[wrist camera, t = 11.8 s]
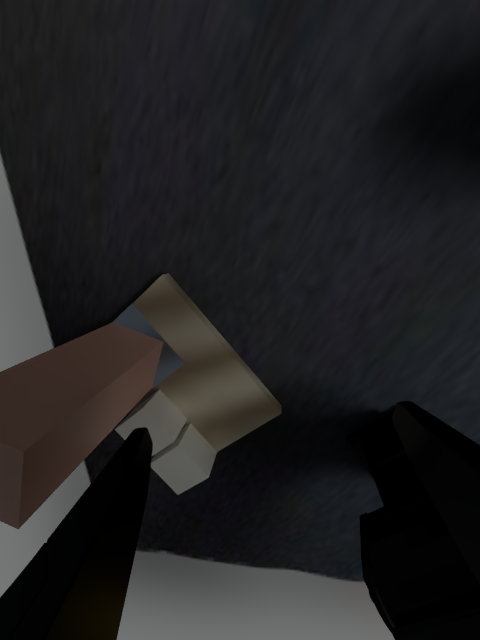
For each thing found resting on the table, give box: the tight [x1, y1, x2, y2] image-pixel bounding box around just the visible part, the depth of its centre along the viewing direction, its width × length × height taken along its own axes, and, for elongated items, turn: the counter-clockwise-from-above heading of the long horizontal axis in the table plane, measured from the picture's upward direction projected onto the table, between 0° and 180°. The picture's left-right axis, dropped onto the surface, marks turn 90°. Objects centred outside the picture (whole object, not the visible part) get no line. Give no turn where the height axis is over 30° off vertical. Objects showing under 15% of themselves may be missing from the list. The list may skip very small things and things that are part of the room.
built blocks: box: [115, 389, 217, 495], centre depth 24 cm, size 8×4×3 cm, turn 40°
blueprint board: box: [113, 273, 282, 452], centre depth 25 cm, size 16×12×1 cm
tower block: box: [0, 322, 164, 529], centre depth 18 cm, size 5×5×13 cm
